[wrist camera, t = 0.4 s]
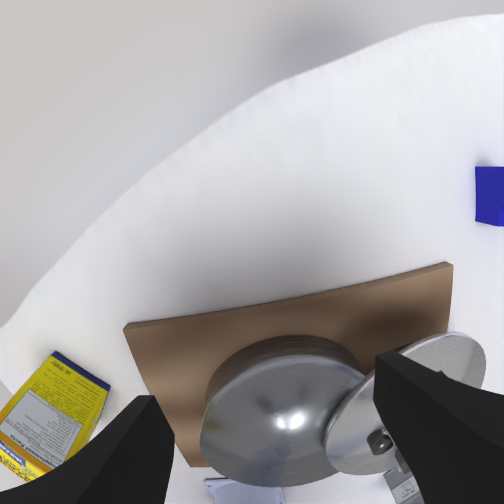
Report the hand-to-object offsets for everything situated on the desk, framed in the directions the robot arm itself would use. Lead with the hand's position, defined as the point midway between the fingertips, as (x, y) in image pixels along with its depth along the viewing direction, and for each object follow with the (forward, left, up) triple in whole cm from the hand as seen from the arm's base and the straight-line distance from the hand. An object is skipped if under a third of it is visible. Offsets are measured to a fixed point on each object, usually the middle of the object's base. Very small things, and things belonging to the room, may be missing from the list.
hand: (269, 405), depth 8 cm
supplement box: (-7, +17, -10) cm, 21 cm away
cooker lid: (-9, -9, -4) cm, 13 cm away
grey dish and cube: (-9, -4, -9) cm, 13 cm away
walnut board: (-9, -3, -10) cm, 14 cm away
